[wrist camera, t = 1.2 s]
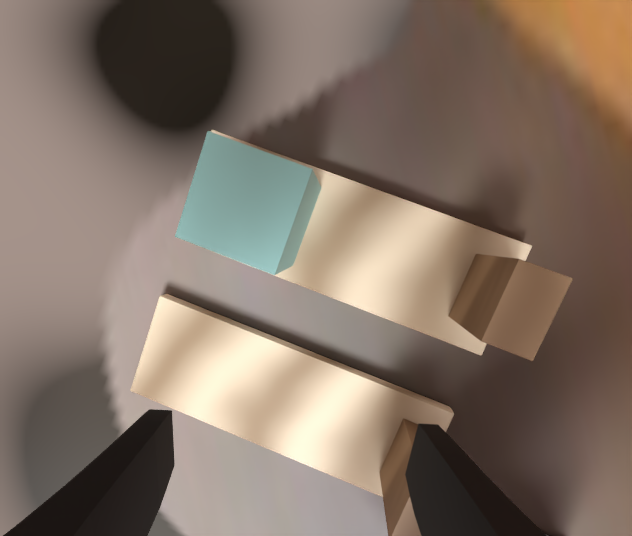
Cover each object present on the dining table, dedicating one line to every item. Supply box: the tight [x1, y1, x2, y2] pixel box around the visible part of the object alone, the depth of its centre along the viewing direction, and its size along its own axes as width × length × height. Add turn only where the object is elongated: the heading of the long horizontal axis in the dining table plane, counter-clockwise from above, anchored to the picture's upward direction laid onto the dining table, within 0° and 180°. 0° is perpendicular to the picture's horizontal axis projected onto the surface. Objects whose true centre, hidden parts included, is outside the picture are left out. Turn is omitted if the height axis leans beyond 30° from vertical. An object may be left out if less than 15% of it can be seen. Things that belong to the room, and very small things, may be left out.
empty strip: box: [131, 294, 454, 536], centre depth 18 cm, size 20×7×5 cm, turn 69°
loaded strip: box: [179, 130, 573, 361], centre depth 17 cm, size 20×7×5 cm, turn 69°
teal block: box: [175, 131, 321, 275], centre depth 16 cm, size 5×5×5 cm
